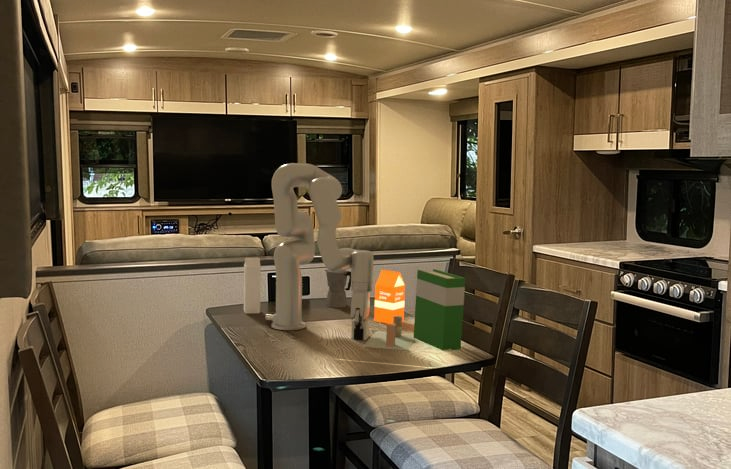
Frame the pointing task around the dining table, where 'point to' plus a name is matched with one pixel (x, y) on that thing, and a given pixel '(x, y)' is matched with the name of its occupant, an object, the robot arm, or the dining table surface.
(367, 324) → the beige foam cube
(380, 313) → the orange juice
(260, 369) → the dining table surface
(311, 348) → the dining table surface
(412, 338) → the mat
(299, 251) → the robot arm
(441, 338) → the hardback book
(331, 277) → the coffeepot
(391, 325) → the post
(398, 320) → the post
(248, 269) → the milk
